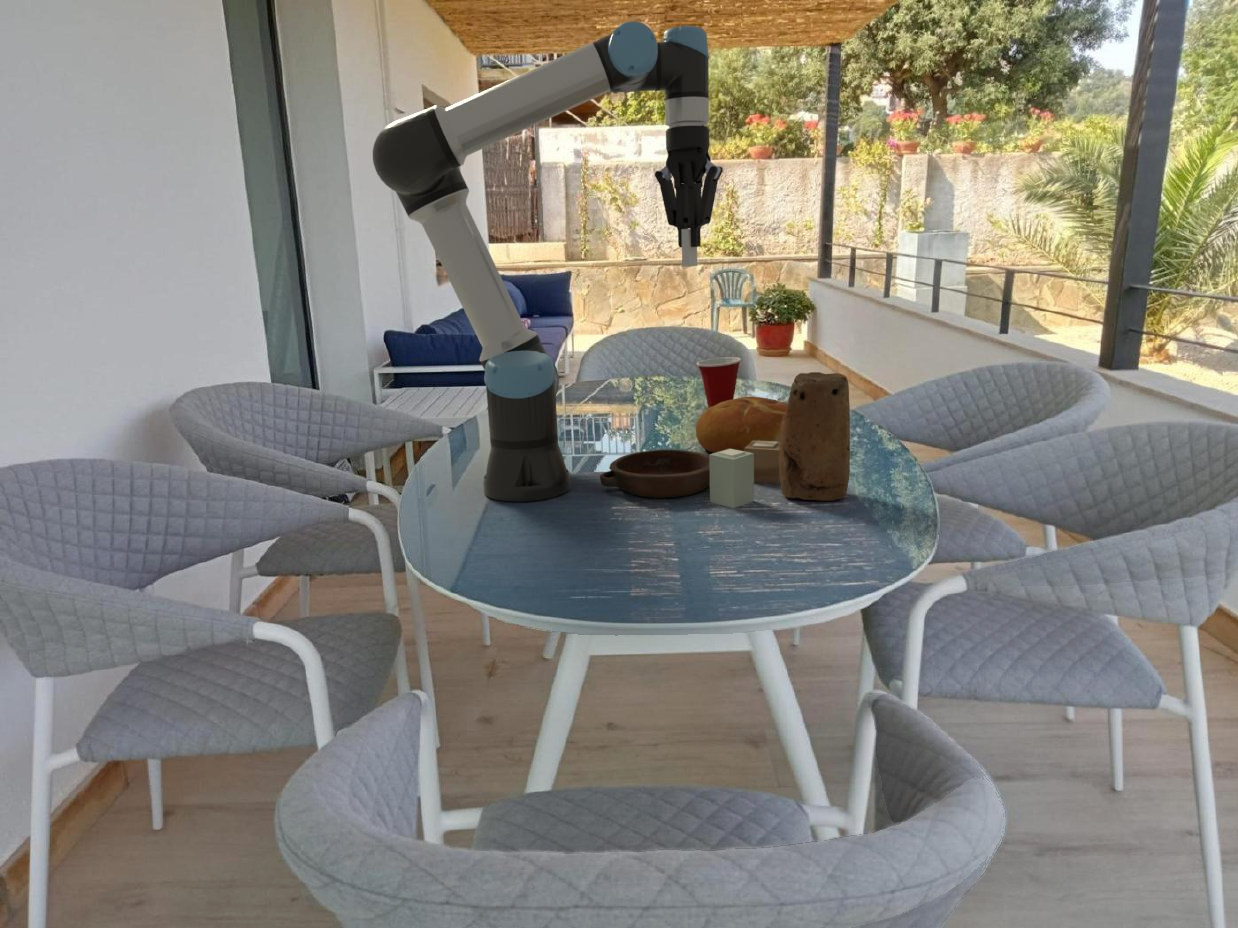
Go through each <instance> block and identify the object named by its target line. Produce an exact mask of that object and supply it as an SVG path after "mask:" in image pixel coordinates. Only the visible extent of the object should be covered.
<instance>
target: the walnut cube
mask: <svg viewBox="0 0 1238 928" xmlns="http://www.w3.org/2000/svg"><path fill="white" fill-rule="evenodd" d="M744 451H745V452H750V453H754V483H763V484H764V483H766V484H779V483H780V442H775V441H756V440H753V441H752V442H750V443H749V444H748V445H747V446H746V447H745V448H744Z"/></svg>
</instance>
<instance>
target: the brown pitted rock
mask: <svg viewBox="0 0 1238 928" xmlns="http://www.w3.org/2000/svg"><path fill="white" fill-rule="evenodd" d="M849 385H850V384H849V380H848V377H847V376H846V375H845V374H842V373H836V372H834V373H822V372H820V371H817V372H815V371H814V372H813V371H812V372H808V373H807V372H805V373H804V372H800V373H798V374H797V375H796V376H795V377H794V379H793V382H792V383H791V388H790V391H789V396H788V400H787V403H788V405H787V409H786V412H785V413H784V416H783V418H782V421H781V430H780V482H779V483H780V490H781V493H782V496H784V497H786V498H788V499H801V500H805V501H822V502H823V501H827V502H829V501H837V500H842V499H843V498H845V496H846V494H847V491H848V487H849V483H850V482H849V481H850V474H851V473H850V471H851V469H850V466H851V464H850V463H851V462H850V461H851V460H850V459H851V448H850V446H851V441H850V438H851V425H850V424H851V417H850V414H851V413H850V412H851V411H850V408H851V405H850V387H849Z"/></svg>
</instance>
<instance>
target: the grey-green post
mask: <svg viewBox="0 0 1238 928" xmlns="http://www.w3.org/2000/svg"><path fill="white" fill-rule="evenodd" d="M708 456H709V462H710V486H709V502H710V503H711V504H715V505H720V506H723V507H727V508H731V509H736V508H739V507H741V506H744V505H747V504H750V503H753V502H755V482H754V453H750V452H745V451H740V450H735V449H727V450H723V451H720V452H716V453H711V454H709V455H708Z"/></svg>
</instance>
